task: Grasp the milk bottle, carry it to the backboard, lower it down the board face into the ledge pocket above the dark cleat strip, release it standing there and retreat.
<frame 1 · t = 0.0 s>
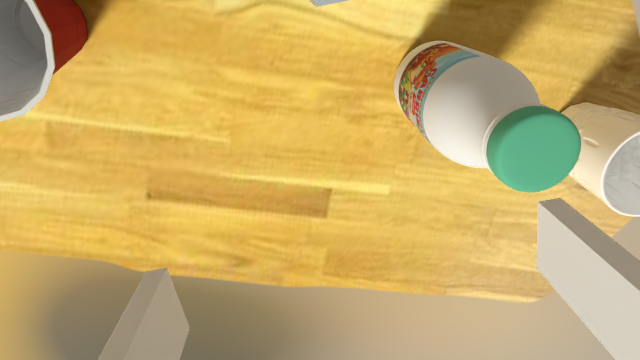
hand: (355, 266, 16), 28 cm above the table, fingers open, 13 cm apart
white cup: (576, 134, 44), on the table
milk bottle: (432, 82, 41), on the table
plastic cup: (56, 26, 38), on the table
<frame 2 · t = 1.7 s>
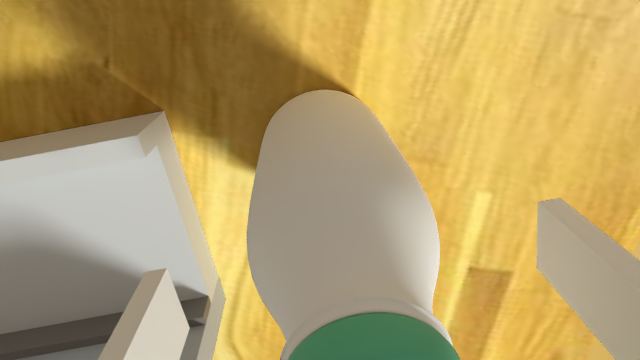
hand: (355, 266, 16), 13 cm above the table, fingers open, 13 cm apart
milk bottle: (323, 146, 28), on the table
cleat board: (60, 317, 32), on the table
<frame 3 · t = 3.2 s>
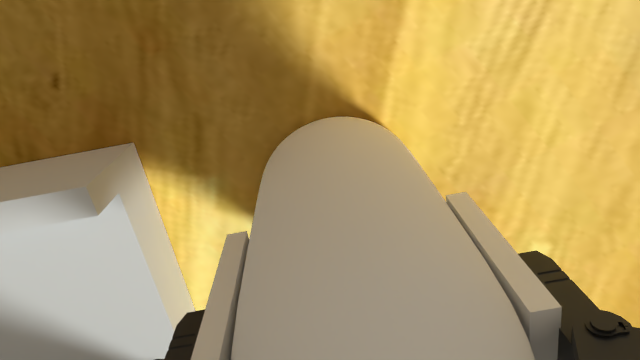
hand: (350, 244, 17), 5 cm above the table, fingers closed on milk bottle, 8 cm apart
milk bottle: (338, 187, 22), on the table, touching gripper
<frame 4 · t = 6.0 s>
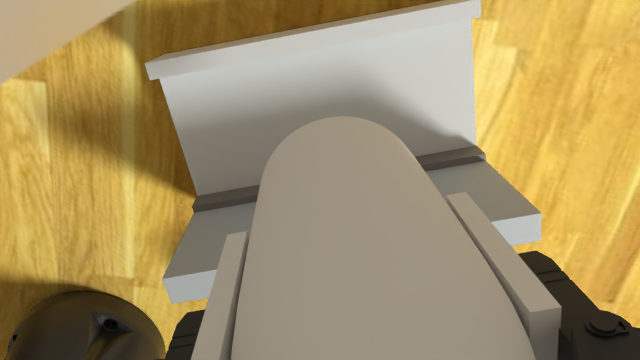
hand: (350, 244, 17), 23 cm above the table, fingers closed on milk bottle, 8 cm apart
milk bottle: (339, 186, 22), point 18 cm above the table, touching gripper
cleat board: (335, 174, 41), on the table
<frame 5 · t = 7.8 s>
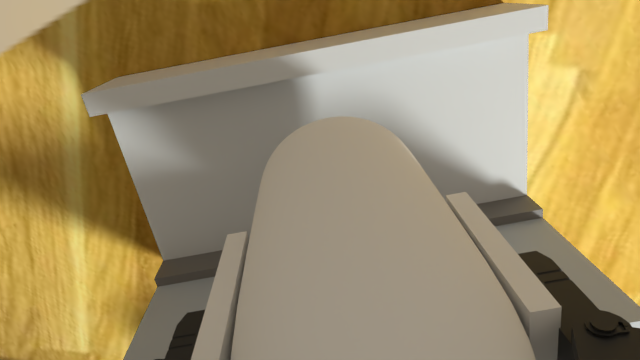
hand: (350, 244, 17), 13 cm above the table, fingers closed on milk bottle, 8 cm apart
milk bottle: (339, 187, 22), point 8 cm above the table, touching gripper
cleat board: (342, 226, 32), on the table
when the fingers open (10 cm above the table, at t = 9.0 s): milk bottle drops 1 cm, resting on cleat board.
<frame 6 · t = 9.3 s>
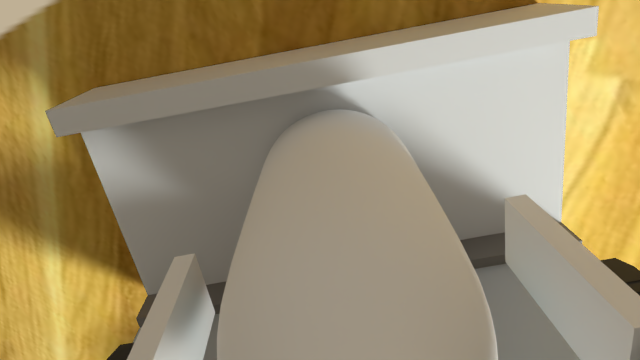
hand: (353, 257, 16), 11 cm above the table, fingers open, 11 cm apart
milk bottle: (337, 177, 23), point 3 cm above the table, touching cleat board
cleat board: (350, 253, 29), on the table
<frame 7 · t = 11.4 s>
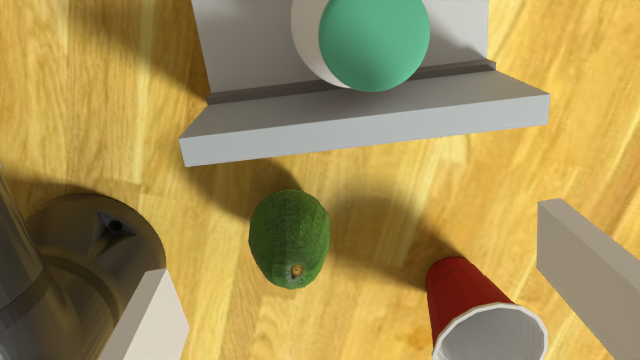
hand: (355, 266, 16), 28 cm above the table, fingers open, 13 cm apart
milk bottle: (341, 12, 36), point 3 cm above the table, touching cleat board
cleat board: (346, 87, 41), on the table
plastic cup: (452, 275, 51), on the table
avocado: (291, 207, 47), on the table
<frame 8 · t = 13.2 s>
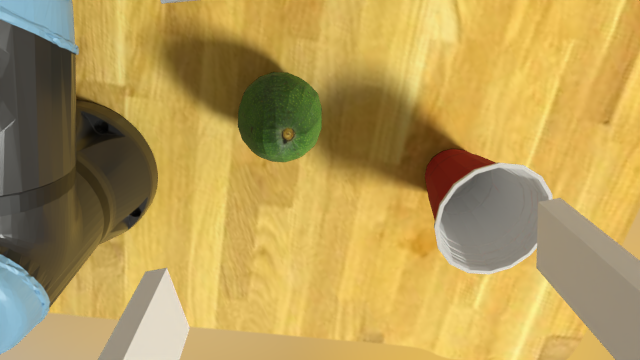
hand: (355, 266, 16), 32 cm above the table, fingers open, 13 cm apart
plastic cup: (451, 171, 49), on the table
avocado: (281, 103, 45), on the table
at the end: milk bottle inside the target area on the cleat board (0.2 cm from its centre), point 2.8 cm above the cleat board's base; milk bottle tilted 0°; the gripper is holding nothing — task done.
